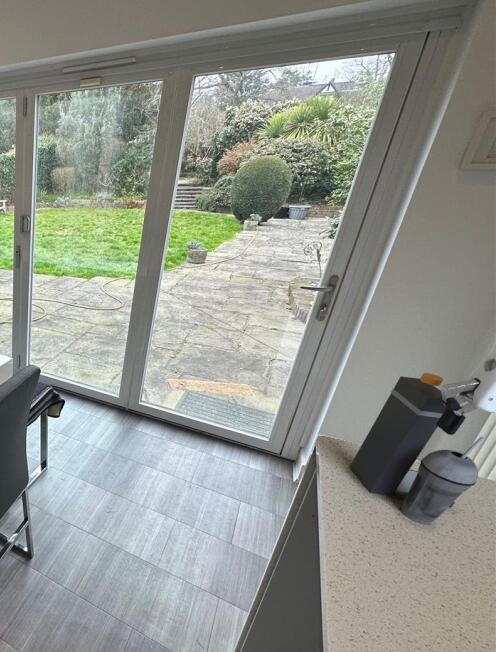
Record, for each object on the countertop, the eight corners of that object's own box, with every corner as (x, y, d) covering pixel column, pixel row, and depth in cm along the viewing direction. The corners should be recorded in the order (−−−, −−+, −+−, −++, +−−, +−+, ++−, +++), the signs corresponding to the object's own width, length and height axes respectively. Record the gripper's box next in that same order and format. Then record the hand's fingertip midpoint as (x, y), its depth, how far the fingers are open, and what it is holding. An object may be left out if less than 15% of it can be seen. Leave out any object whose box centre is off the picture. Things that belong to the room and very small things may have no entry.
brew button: (433, 379, 78) (436, 374, 78) (444, 386, 76) (447, 381, 75) (416, 377, 79) (419, 372, 78) (426, 384, 77) (429, 379, 76)
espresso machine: (420, 476, 90) (482, 384, 80) (451, 507, 83) (525, 410, 72) (347, 465, 93) (398, 374, 82) (371, 494, 85) (430, 398, 75)
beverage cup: (387, 495, 85) (438, 417, 76) (434, 510, 82) (493, 430, 73) (396, 519, 80) (452, 438, 71) (447, 536, 76) (513, 454, 67)
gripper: (495, 350, 62) (434, 439, 70) (641, 366, 58) (559, 458, 66) (456, 331, 68) (405, 414, 76) (586, 344, 65) (517, 430, 73)
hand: (477, 434), depth 71 cm, fingers open, 9 cm apart
